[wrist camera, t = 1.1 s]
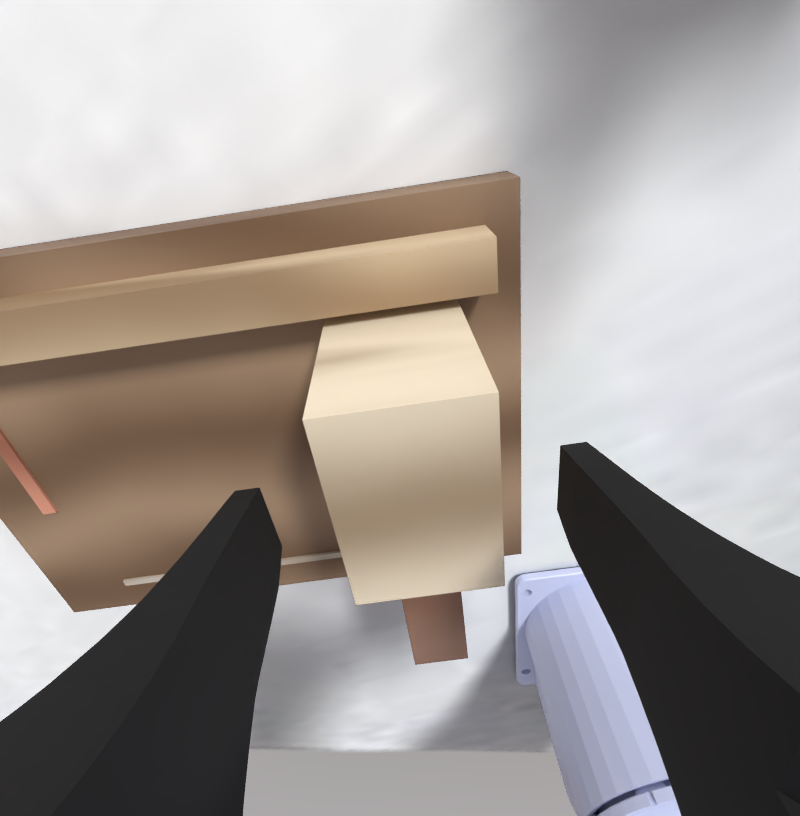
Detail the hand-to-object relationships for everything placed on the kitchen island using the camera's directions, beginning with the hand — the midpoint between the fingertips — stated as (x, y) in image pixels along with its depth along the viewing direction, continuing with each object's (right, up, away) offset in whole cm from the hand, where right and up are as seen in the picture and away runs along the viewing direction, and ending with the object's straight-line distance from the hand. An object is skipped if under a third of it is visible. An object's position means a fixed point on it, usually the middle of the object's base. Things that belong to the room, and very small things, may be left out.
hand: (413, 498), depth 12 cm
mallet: (0, +1, +6) cm, 6 cm away
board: (-6, +2, +7) cm, 9 cm away
